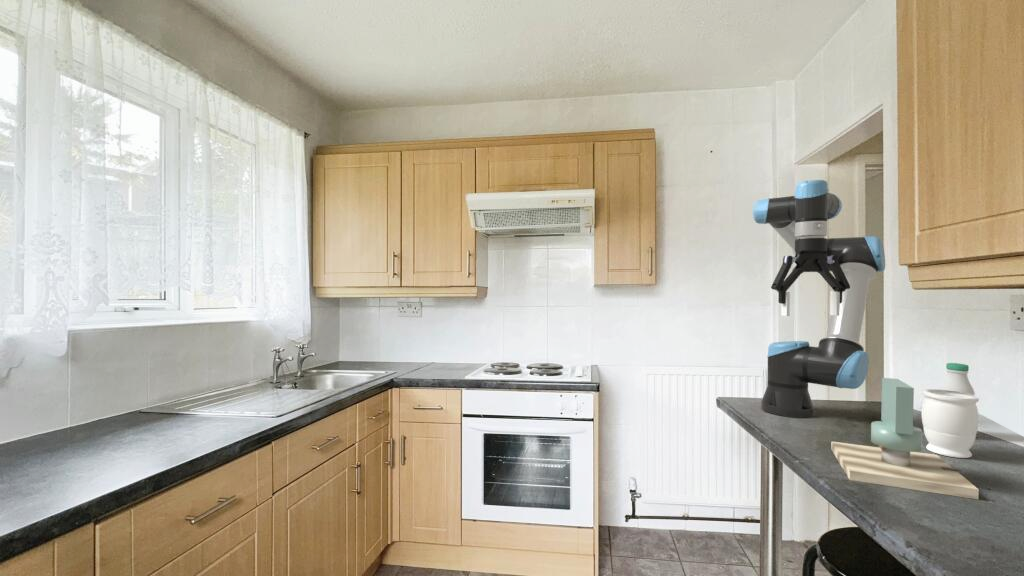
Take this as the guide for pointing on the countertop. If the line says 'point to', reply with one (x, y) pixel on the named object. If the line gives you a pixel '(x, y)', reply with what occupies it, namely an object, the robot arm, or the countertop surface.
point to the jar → (950, 422)
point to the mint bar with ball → (897, 418)
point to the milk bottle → (957, 379)
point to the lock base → (902, 469)
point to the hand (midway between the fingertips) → (810, 315)
